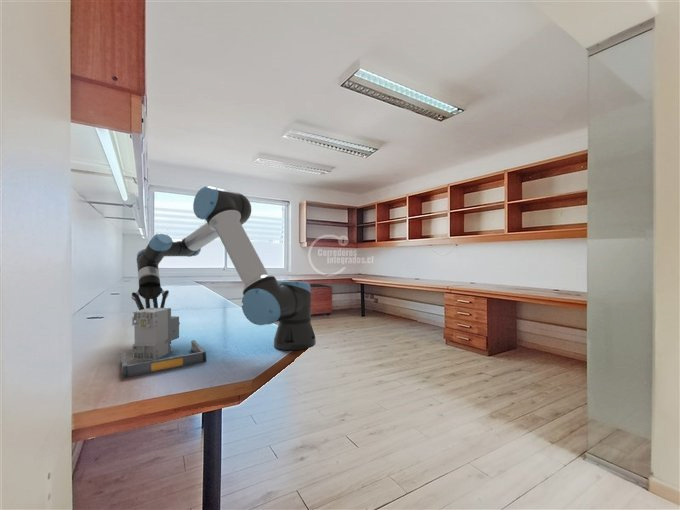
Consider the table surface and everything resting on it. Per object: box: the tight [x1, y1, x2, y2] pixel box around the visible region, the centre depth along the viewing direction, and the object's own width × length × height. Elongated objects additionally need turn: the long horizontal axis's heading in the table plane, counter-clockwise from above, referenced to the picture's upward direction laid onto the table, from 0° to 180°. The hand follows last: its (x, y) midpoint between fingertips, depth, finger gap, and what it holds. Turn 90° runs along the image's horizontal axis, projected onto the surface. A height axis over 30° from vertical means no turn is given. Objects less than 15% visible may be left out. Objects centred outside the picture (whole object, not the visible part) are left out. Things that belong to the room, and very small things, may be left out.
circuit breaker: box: [131, 307, 181, 361], centre depth 105 cm, size 8×14×15 cm, turn 174°
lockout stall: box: [120, 340, 207, 379], centre depth 96 cm, size 17×21×3 cm
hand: (154, 328), depth 115 cm, fingers closed
